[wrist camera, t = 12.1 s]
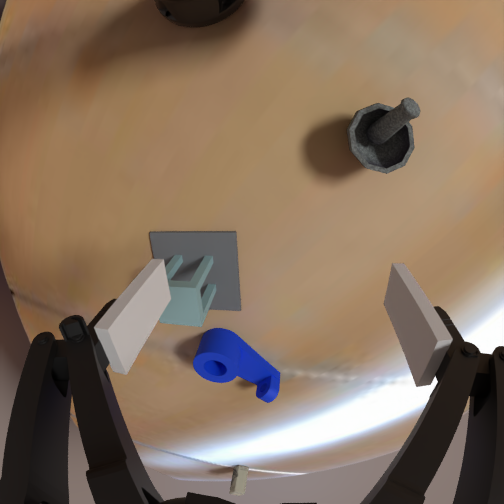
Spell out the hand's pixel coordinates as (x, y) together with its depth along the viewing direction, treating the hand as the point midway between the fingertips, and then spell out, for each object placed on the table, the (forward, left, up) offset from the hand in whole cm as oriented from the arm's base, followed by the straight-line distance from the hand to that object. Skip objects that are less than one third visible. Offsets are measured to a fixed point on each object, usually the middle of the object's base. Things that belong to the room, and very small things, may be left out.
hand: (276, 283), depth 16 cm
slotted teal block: (+17, -16, -31) cm, 39 cm away
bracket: (+38, -9, -32) cm, 51 cm away
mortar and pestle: (-8, +14, -32) cm, 36 cm away
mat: (+17, -16, -32) cm, 39 cm away
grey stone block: (+106, -13, -32) cm, 111 cm away
